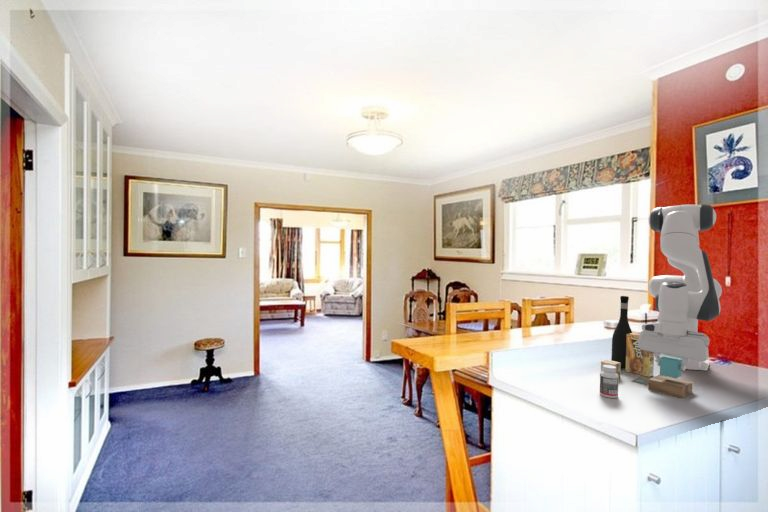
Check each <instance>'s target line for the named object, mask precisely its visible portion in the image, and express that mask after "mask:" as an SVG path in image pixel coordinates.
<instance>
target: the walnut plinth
mask: <svg viewBox="0 0 768 512" xmlns="http://www.w3.org/2000/svg"><path fill="white" fill-rule="evenodd" d="M648 379H649V382H648V384H647V388H648V390H649V391H652V392H655V393H656V392H657V393H659V392H660V394H663V393H664V395H668V396H671V395H672V397H675V396H676V398H678V399H679V398H680V399H684V398H685V397H688V395H690V394H692V393H693V381H689V380H684V379H680V378H677V379H676V378H672V377H667V376H663V375H660V374H657V375H655V376H654V377H650V378H648Z"/></svg>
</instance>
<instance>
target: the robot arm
mask: <svg viewBox="0 0 768 512" xmlns="http://www.w3.org/2000/svg"><path fill="white" fill-rule="evenodd" d="M648 216H649V217H648V220H647V221H648V225H649V227H650V229H651V230H652V231H654V232H657V233H660V240H659V241H660V245H659V247H660V252H661V253H662V254H663V255H664V256H665V257H666V258H667V259H666V260H667V262H668V264H669V265H670V266H672V267H673V268H675V269H678V270H679V271H681V272H682V273H683V275H673V274H672V275H670V274H663V275H656V276H653V277H652V278H651V279H650V280H649V282H648V285H647V289H648V293H649V295H651V297H653V298H655V299H654V300H655V301H654V303H655V305H654V309H655V310H656V311H657V312H658V316H657V321H653V322H648V323H643V324H642V325H641V330H642V331H640V333H639V339H638V347H639V348H640V349H641V350H645V351H651V352H654V360H655V361H656V363H657V366H658V367H660V358H661V357H664V356H669V357H675V358H680V359H682V364H680V365H679V370H681V371H682V372H685V371H686V370H691V371H692V370H693V371H694V370H695V371H696V370H697V371H708V369H709V366H710V362H708V361H707V360H708V359H709V358H710V357H709V345H710V337H709V336H708V335H707V334H705V333H704V332H698V329H699V328H698V327H699V321H705V322H709V321H710V322H711V321H712V320H713V321H714V320H715V319H716V318H718V317H719V316H720V313H721V309H722V308H721V302H720V297H721V296H722V293H723V289H722V286H721V284H720V283H719V281H718V280H717V279H715V278H714V277H713V273H712V268H711V264H710V260H709V257H708V253H707V252H706V251H705V250H703V249H701V248H700V235H699V232H700V233H704V231H710V229H711V228H714V225H715V223H716V221H717V213H716V211H715V209H714V207H713V206H712V205H711V204H704V203H700V204H679V205H671V206H664V207H663V206H659V207H655V208H653V209H652V210H651V211H650V213H649V215H648Z"/></svg>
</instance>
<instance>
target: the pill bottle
mask: <svg viewBox="0 0 768 512" xmlns="http://www.w3.org/2000/svg"><path fill="white" fill-rule="evenodd" d="M619 379H620V378H619V376H618V374H616V367H615V366H612V365H603V371H602V372H601V371H600V374H599V395H600V396H602V397H605V398H611V399H617V398H618V397H619V381H620V380H619Z"/></svg>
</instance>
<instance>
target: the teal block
mask: <svg viewBox="0 0 768 512" xmlns="http://www.w3.org/2000/svg"><path fill="white" fill-rule="evenodd" d="M680 364H682V359H680V358H675V357H669V356H664V357H661V358H660V366H659V375H663V376H667V377H672V378H676V379H680V378H681V377H682V376H683V371H681V370H679V365H680Z"/></svg>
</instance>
